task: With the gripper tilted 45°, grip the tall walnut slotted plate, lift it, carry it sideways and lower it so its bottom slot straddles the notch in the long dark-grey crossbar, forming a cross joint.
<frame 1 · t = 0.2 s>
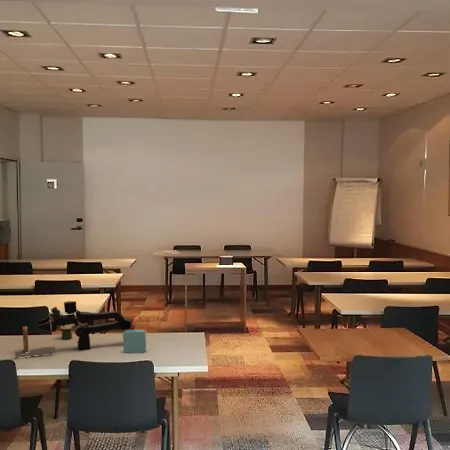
hand: (37, 324, 306), 17 cm above the table, tool horizontal, fingers open, 9 cm apart
grey crossbar: (35, 356, 302), on the table
teal square block: (134, 352, 307), on the table
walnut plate: (26, 351, 312), on the table
character mug: (66, 338, 339), on the table
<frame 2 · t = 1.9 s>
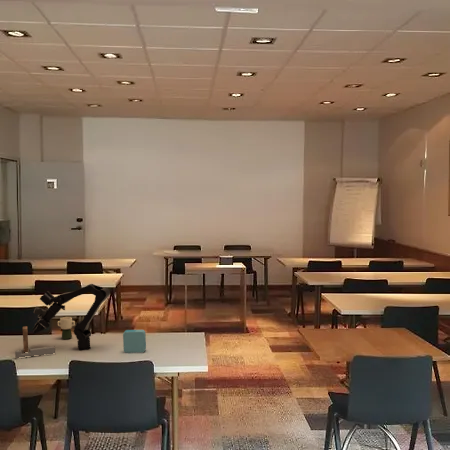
hand: (33, 331, 313), 11 cm above the table, tool tilted 45°, fingers open, 9 cm apart
nothing on the table moved.
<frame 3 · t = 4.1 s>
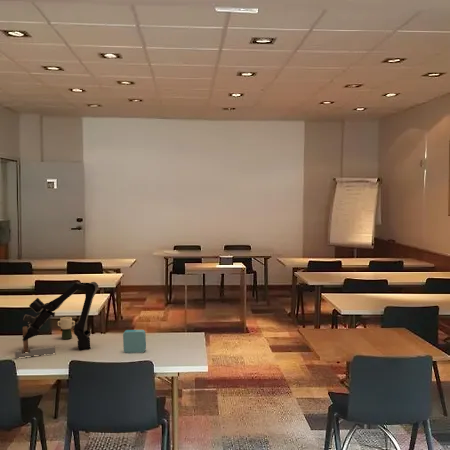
hand: (22, 339, 311), 8 cm above the table, tool tilted 45°, fingers closed on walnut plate, 7 cm apart
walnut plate: (26, 351, 312), on the table, touching gripper
everything else where it was.
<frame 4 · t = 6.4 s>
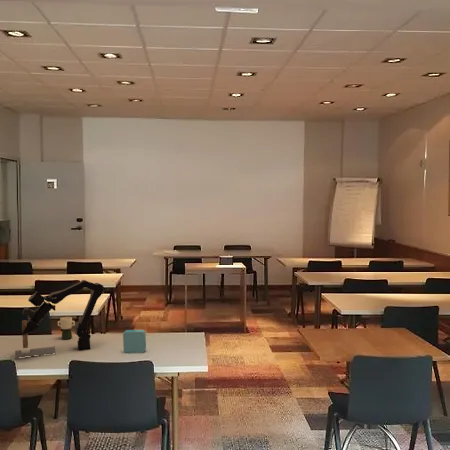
hand: (22, 333, 300), 14 cm above the table, tool tilted 45°, fingers closed on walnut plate, 7 cm apart
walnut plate: (25, 346, 301), point 6 cm above the table, touching gripper
everything else where it was.
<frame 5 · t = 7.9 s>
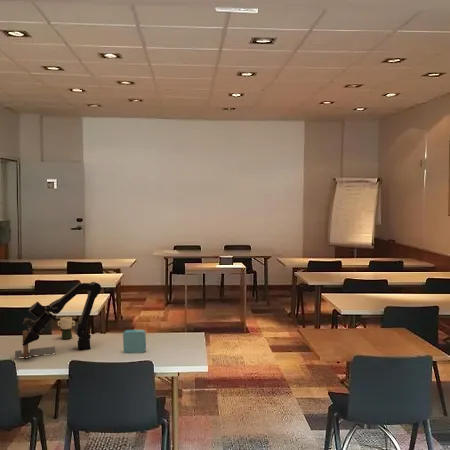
hand: (22, 343, 300), 8 cm above the table, tool tilted 45°, fingers closed on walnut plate, 7 cm apart
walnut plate: (26, 356, 301), on the table, touching gripper
everything else where it was.
when the fingers open (8 cm above the table, at t = 9.1 s): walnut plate stays where it is, on the table.
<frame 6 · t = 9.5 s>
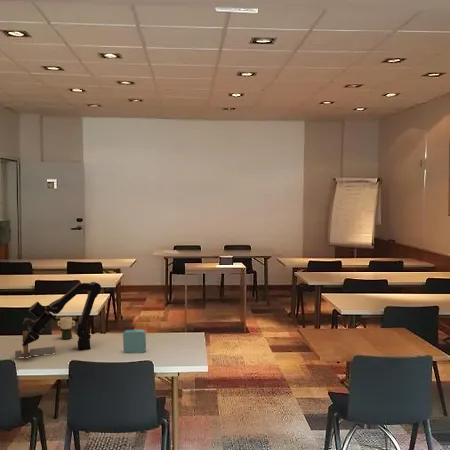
hand: (22, 343, 300), 8 cm above the table, tool tilted 45°, fingers open, 9 cm apart
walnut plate: (26, 357, 301), on the table
everything else where it was.
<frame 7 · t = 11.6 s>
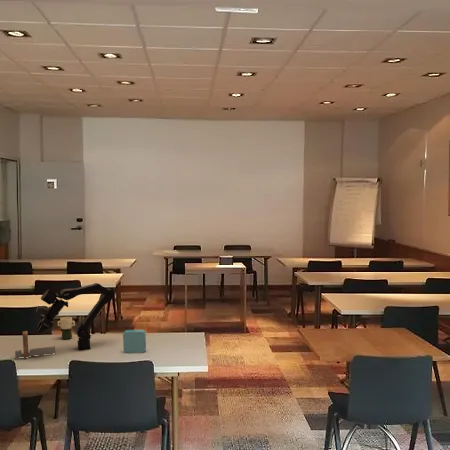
hand: (37, 331, 304), 14 cm above the table, tool tilted 40°, fingers open, 9 cm apart
nothing on the table moved.
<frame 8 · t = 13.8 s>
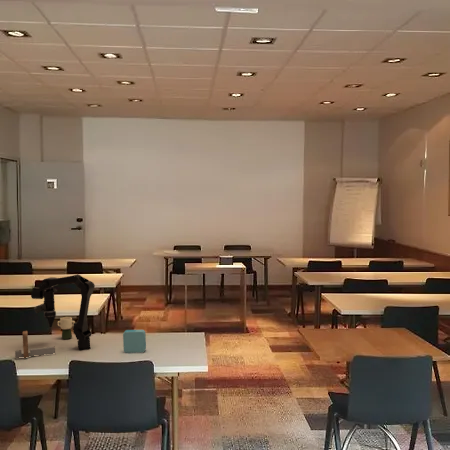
hand: (50, 325, 320), 13 cm above the table, tool pointing down, fingers open, 9 cm apart
nothing on the table moved.
at the end: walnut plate 0.1 cm from the target spot on the grey crossbar, point 0.0 cm above the grey crossbar's base; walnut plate tilted 0°; the gripper is holding nothing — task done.
